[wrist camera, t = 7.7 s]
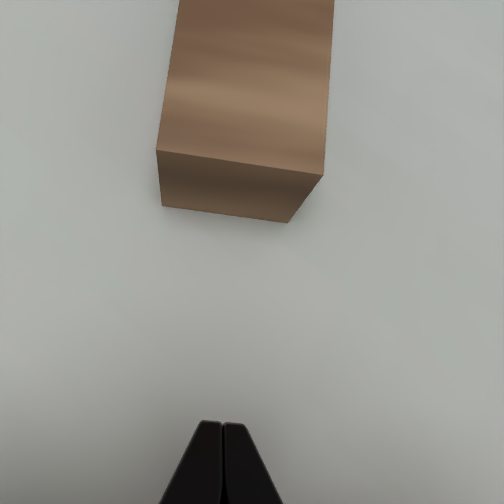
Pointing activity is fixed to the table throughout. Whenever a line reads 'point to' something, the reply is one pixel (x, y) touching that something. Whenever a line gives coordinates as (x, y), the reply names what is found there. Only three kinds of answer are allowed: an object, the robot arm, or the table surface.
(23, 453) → the table surface
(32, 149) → the table surface
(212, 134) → the walnut block
